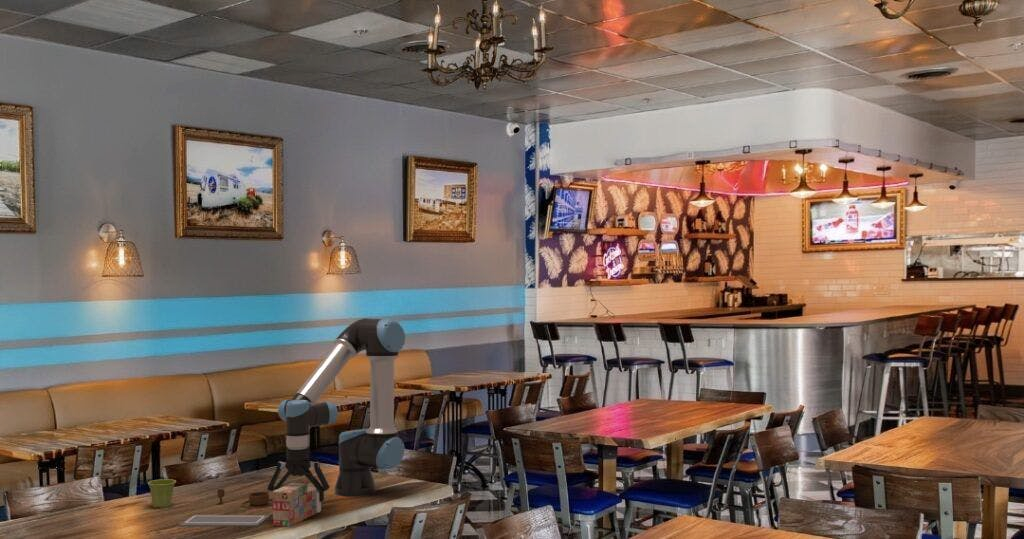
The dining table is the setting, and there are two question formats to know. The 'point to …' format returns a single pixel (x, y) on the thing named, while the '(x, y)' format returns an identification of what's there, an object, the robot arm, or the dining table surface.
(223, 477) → the dining table surface
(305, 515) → the stack of blocks
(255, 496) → the place setting
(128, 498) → the dining table surface
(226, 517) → the blueprint baseplate
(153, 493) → the plant pot
